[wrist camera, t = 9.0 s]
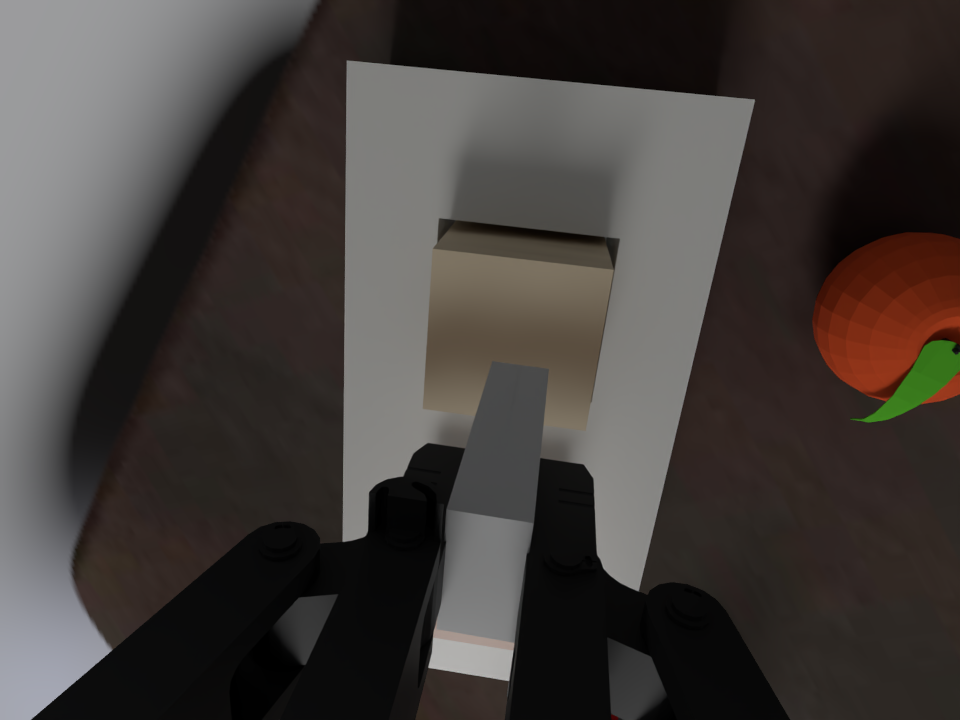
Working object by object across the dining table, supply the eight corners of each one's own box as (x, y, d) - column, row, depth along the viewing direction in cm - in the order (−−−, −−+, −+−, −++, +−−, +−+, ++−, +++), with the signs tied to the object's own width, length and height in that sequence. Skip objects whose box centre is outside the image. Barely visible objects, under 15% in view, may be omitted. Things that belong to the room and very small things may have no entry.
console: (389, 67, 28) (346, 60, 23) (715, 98, 27) (755, 99, 22) (373, 574, 39) (341, 653, 34) (605, 610, 38) (612, 698, 33)
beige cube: (459, 217, 27) (432, 248, 22) (603, 233, 27) (613, 269, 21) (448, 349, 29) (422, 408, 24) (581, 366, 29) (585, 431, 23)
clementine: (878, 405, 31) (961, 486, 25) (748, 349, 31) (797, 416, 25) (991, 256, 28) (1119, 304, 22) (848, 192, 28) (934, 221, 21)
